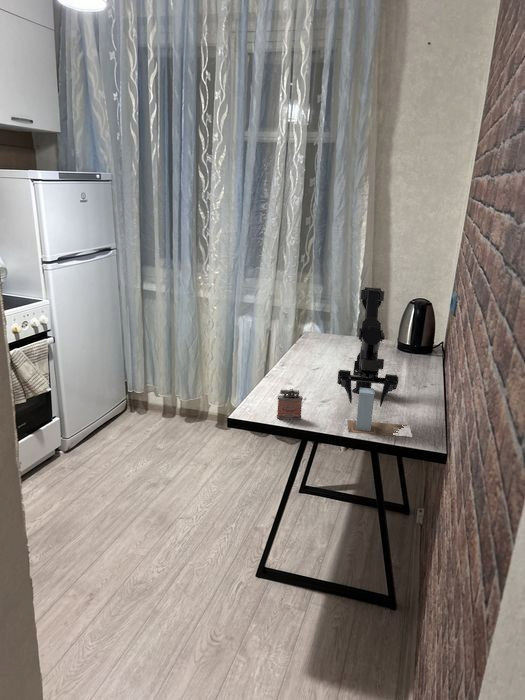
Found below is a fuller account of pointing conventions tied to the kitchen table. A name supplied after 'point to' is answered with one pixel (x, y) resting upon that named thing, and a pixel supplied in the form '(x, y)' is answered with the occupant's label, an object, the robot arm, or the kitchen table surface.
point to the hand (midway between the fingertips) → (365, 404)
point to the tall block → (365, 409)
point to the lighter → (289, 405)
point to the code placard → (376, 428)
